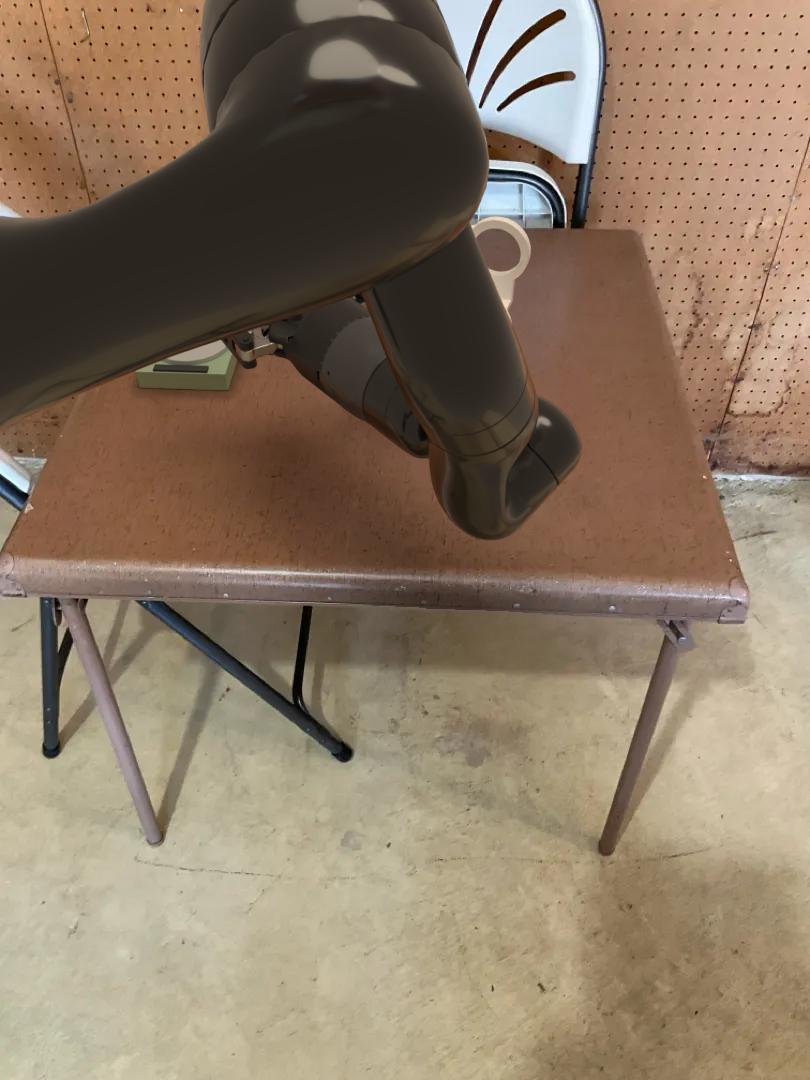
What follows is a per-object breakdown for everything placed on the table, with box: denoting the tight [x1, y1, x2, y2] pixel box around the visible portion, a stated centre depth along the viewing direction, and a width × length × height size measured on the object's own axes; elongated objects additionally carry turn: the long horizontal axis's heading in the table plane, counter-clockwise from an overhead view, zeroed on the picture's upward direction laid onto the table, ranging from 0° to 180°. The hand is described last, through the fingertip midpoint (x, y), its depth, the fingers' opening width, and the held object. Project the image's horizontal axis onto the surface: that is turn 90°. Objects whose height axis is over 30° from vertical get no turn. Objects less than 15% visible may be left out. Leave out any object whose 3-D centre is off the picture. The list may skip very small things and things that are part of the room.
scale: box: [134, 340, 238, 391], centre depth 97 cm, size 12×10×3 cm
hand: (248, 280), depth 76 cm, fingers closed on light bulb, 6 cm apart
